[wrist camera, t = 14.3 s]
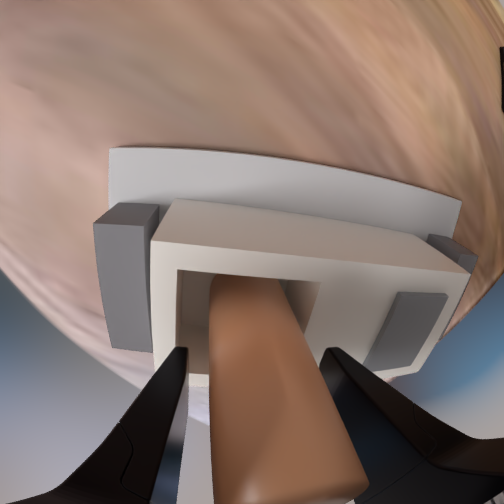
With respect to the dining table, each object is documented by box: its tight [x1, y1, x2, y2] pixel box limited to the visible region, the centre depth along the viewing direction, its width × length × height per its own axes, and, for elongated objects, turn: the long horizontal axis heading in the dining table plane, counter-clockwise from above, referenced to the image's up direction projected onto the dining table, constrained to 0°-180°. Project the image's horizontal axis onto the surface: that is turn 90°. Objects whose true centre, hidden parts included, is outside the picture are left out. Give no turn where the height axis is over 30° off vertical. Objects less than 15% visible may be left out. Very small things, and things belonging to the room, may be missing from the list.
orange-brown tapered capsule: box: [209, 273, 369, 504], centre depth 8 cm, size 3×3×9 cm
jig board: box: [93, 147, 478, 353], centre depth 13 cm, size 20×11×4 cm, turn 83°
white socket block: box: [150, 198, 471, 387], centre depth 12 cm, size 13×6×5 cm, turn 80°
